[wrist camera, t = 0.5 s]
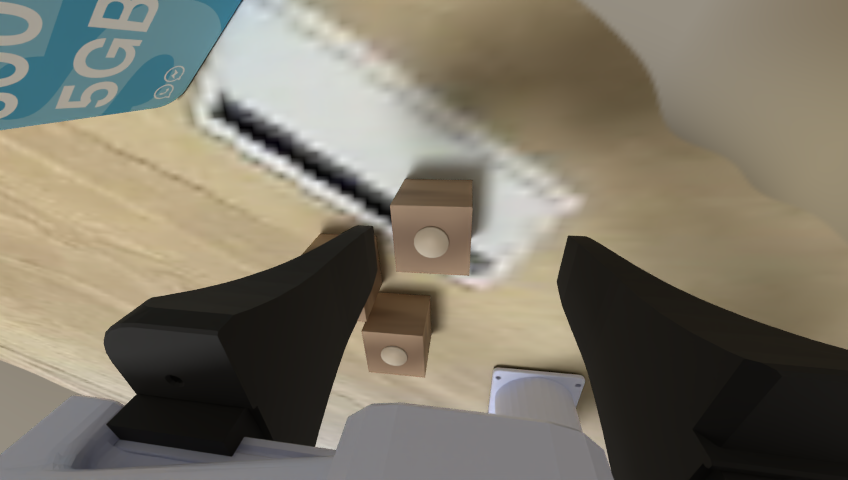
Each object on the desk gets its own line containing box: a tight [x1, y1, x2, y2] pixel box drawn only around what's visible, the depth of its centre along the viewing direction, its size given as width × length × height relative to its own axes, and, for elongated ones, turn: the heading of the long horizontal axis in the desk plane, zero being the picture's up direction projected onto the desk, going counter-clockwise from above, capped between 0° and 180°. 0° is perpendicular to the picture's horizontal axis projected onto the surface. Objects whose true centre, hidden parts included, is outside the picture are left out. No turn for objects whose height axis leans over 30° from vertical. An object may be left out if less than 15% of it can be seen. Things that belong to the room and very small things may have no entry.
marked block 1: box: [390, 179, 473, 276], centre depth 20 cm, size 4×5×5 cm
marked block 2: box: [362, 292, 431, 377], centre depth 25 cm, size 4×5×5 cm
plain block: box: [302, 234, 382, 322], centre depth 23 cm, size 4×4×4 cm
